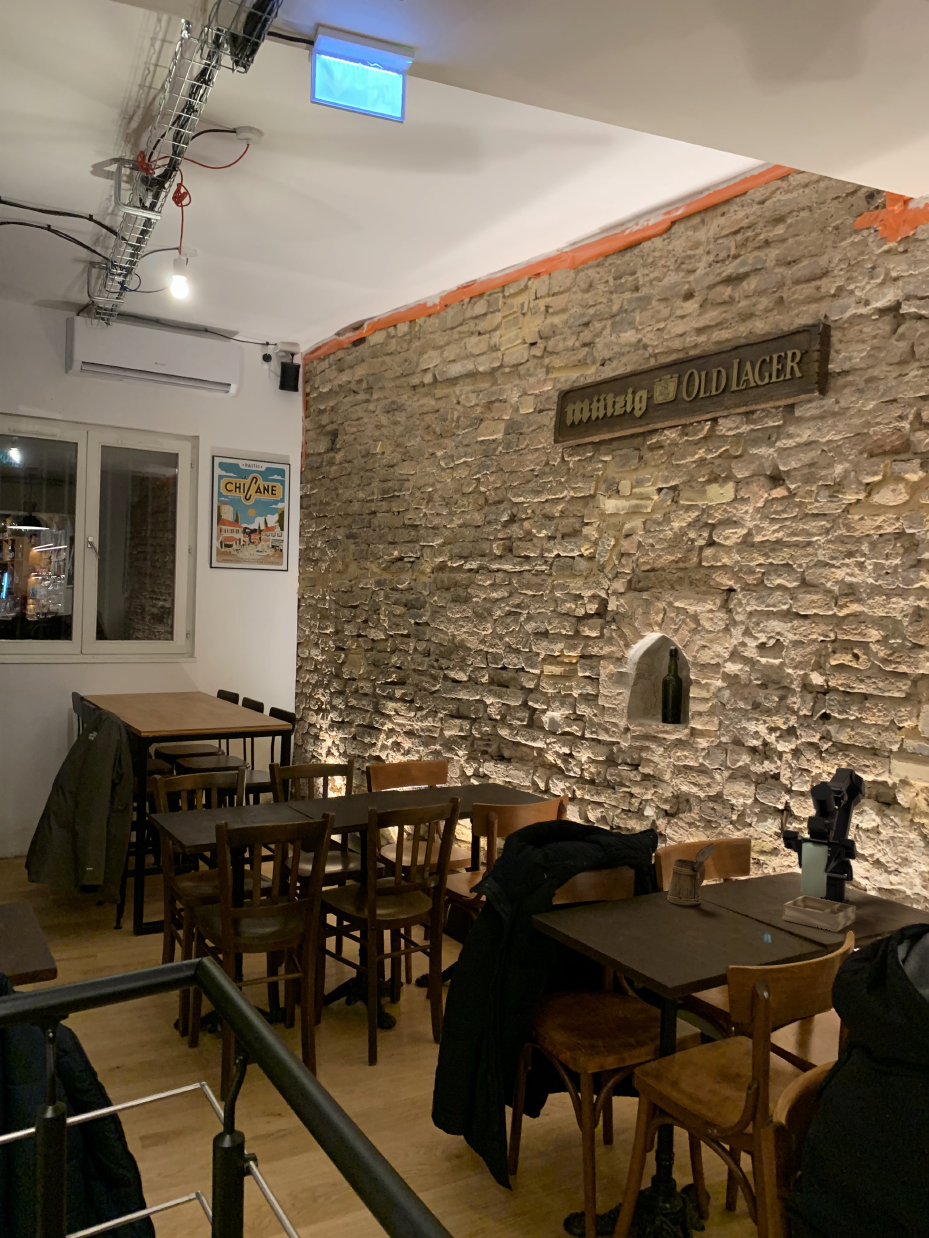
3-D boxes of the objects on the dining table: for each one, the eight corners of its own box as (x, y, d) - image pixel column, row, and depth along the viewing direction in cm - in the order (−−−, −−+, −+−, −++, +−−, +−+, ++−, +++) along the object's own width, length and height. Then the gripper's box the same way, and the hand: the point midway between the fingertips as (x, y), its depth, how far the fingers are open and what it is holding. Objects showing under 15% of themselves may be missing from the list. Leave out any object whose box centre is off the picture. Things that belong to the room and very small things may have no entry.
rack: (803, 909, 265) (803, 895, 265) (855, 921, 256) (855, 906, 256) (782, 919, 254) (783, 904, 254) (836, 931, 245) (836, 916, 245)
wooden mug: (698, 911, 257) (702, 844, 257) (660, 899, 268) (663, 834, 268) (719, 907, 262) (723, 841, 263) (681, 895, 273) (684, 832, 273)
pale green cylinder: (799, 889, 260) (801, 841, 261) (824, 892, 259) (826, 844, 259) (801, 895, 254) (803, 846, 254) (826, 898, 253) (829, 848, 253)
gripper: (785, 800, 265) (772, 846, 256) (856, 809, 255) (846, 857, 246) (791, 824, 272) (779, 870, 262) (861, 834, 262) (851, 882, 252)
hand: (812, 869), depth 255 cm, fingers closed on pale green cylinder, 6 cm apart
